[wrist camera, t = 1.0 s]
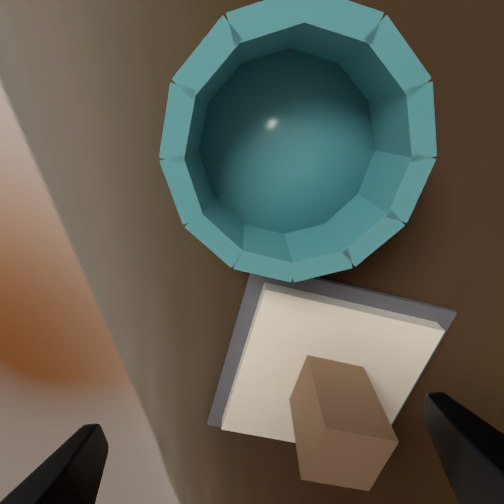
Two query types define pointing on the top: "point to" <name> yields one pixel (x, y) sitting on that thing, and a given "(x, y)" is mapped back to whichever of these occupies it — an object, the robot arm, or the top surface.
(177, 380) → the top surface
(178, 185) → the bowl
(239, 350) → the mat
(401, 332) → the lid
